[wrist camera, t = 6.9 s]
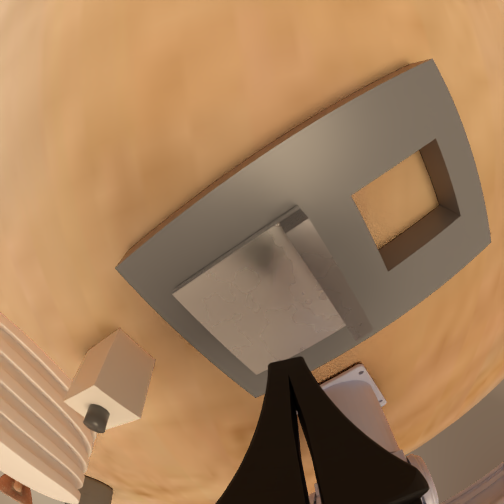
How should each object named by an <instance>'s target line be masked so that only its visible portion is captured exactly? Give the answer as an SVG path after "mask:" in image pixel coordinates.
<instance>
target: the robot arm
mask: <svg viewBox="0 0 504 504" xmlns="http://www.w3.org/2000/svg"><path fill="white" fill-rule="evenodd" d="M386 403H387V402H386V400H385V398H384V397H383V395H382V393H381V392H380V390H379V389H378V387H377V386H376V384H375V382H374V381H373V379H372V378H371V376H370V375H369V373H368V372H367V370H366V369H365V367H364V366H363V364H357V365H355V366H354V367H352V368H350V369H348V370H347V371H345V372H343V373H341V374H339V375H338V376H336V377H334V378H332V379H330V380H328V381H326V382H324V383H323V384H321V385H319V384H318V382H317V381H316V379H315V378H314V376H313V375H312V373H311V371H310V370H309V368H308V366H307V364H306V362H305V360H304V358H303V357H301V356H298V357H294V358H290V359H286V360H281V361H277V362H272V363H270V364H269V365H268V377H267V385H266V392H265V397H264V401H263V406H262V410H261V414H260V417H259V420H258V424H257V427H256V430H255V433H254V435H253V438H252V441H251V443H250V446H249V448H248V450H247V452H246V454H245V457H244V459H243V461H242V463H241V465H240V467H239V469H238V470H237V472H236V474H235V476H234V477H233V479H232V480H231V482H230V484H229V485H228V487H227V489H226V490H225V492H224V493H223V494H222V496H221V497H220V498H219V500H218V501H217V502H216V504H438V496H437V492H436V488H435V485H434V482H433V480H432V477H431V475H430V473H429V470H428V468H427V466H426V464H425V462H424V461H423V459H422V458H421V457H420V456H417V455H414V454H410V455H408V456H406V458H405V455H404V453H403V451H402V450H399V447H398V445H397V443H396V440H395V438H394V436H393V433H392V431H391V429H390V426H389V424H388V422H387V419H386V417H385V415H384V413H383V410H382V408H381V407H382V406H384V405H385V404H386ZM297 415H298V417H299V420H300V423H301V426H302V429H303V432H304V435H305V438H306V441H307V444H308V447H309V451H310V454H311V457H312V461H313V466H314V470H315V475H316V480H317V483H315V484H314V486H315V491H316V492H314V493H311V494H310V495H309V496H308V491H307V486H306V481H305V476H304V471H303V466H302V460H301V452H300V441H299V431H298V421H297ZM406 459H407V460H406ZM440 504H504V462H502V463H501V464H500V465H498V466H497V467H496V468H494V469H493V470H492V471H491V472H489V473H488V474H487V475H485V476H484V477H482V478H481V479H479V480H478V481H476V482H475V483H473V484H472V485H470V486H469V487H467V488H466V489H464V490H462V491H461V492H459V493H457V494H456V495H454V496H452V497H451V498H449V499H447V500H445V501H444V502H442V503H440Z"/></svg>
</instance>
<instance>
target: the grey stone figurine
mask: <svg viewBox="0 0 504 504" xmlns="http://www.w3.org/2000/svg"><path fill="white" fill-rule="evenodd" d="M78 490H79V492H80V494H81V496H80V501H79V503H78V504H111V500H112V494H113V491H112V489H111V488H110V487H109V486H107V485H106V484H104V483H102V482H100V481H98V480H95V479H93V478H90V477H87V476H85V479H84V483H83V487H82V488H80V489H78ZM65 504H70V503H65Z"/></svg>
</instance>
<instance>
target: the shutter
mask: <svg viewBox="0 0 504 504" xmlns="http://www.w3.org/2000/svg"><path fill="white" fill-rule="evenodd" d="M172 295H173V296H174V297H175V298H176V299H177V300H178V301H179V302H180V303H181V304H182V305H183V306H184V307H185V308H186V309H187V310H188V311H189V312H190V313H191V314H192V315H193V316H194V317H195V318H196V319H197V320H198V321H199V322H200V323H201V324H202V325H203V326H204V327H205V328H206V329H207V330H208V331H209V332H210V333H211V334H212V335H213V336H214V337H215V338H216V339H217V340H219V341H220V342H221V343H222V344H223V345H224V346H225V347H226V348H227V349H228V350H229V351H230V352H231V353H232V354H234V355H235V356H236V357H237V358H238V359H239V360H240V361H241V362H242V363H244V364H245V365H246V366H247V367H248V368H249V369H250V370H251V371H253V372H254V373H255V374H256V375H257V374H259V373H261V372H263V371H265V370H267V369H268V365H269V364H270V363H272V362H277V361H281V360H286V359H289V358H291V357H292V356H294V355H296V354H298V353H300V352H302V351H303V350H305V349H307V348H309V347H311V346H312V345H314V344H316V343H318V342H319V341H321V340H323V339H325V338H326V337H328V336H330V335H331V334H333V333H335V332H336V331H338V330H340V329H341V328H343V327H345V326H347V328H348V329H349V331H350V332H351V334H352V336H353V337H354V339H355V340H356V341H357V340H359V339H361V338H362V337H364V336H365V335H367V334H369V333H370V332H372V331H373V328H372V326H371V324H370V322H369V320H368V318H367V317H366V315H365V313H364V311H363V309H362V307H361V306H360V304H359V302H358V300H357V298H356V297H355V295H354V293H353V291H352V290H351V288H350V286H349V284H348V283H347V281H346V279H345V277H344V276H343V274H342V272H341V270H340V269H339V267H338V265H337V264H336V262H335V260H334V259H333V257H332V255H331V254H330V252H329V250H328V249H327V247H326V245H325V244H324V242H323V240H322V239H321V237H320V236H319V234H318V232H317V231H316V229H315V228H314V226H313V224H312V223H311V221H310V220H309V218H308V217H307V216H306V214H305V213H304V212H303V211H302V210H301V208H300V207H299V206H298V205H297V206H295V207H294V208H292V209H291V210H289V211H288V212H286V213H285V214H283V215H282V216H280V217H279V218H277V219H276V220H274V221H273V222H272V223H270V224H269V225H267V226H266V227H264V228H263V229H261V230H260V231H258V232H257V233H255V234H254V235H252V236H251V237H249V238H248V239H246V240H245V241H243V242H242V243H240V244H239V245H237V246H236V247H234V248H233V249H231V250H230V251H229V252H227V253H226V254H224V255H223V256H221V257H220V258H218V259H217V260H215V261H214V262H212V263H211V264H209V265H208V266H207V267H205V268H204V269H202V270H201V271H199V272H198V273H196V274H195V275H193V276H192V277H191V278H189V279H188V280H186V281H185V282H183V283H182V284H180V285H179V286H177V287H176V288H175V289H174V291H173V294H172Z"/></svg>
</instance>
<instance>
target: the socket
mask: <svg viewBox="0 0 504 504" xmlns="http://www.w3.org/2000/svg"><path fill="white" fill-rule="evenodd" d="M418 150H420V153H421V155H422V158H423V160H424V163H425V165H426V168H427V170H428V173H429V176H430V178H431V181H432V184H433V187H434V190H435V193H436V196H437V199H438V202H439V206H438V207H436V208H435V209H434V210H433V211H431V212H430V213H429V214H427V215H426V216H425V217H423V218H422V219H421V220H419V221H418V222H417V223H415V224H414V225H413V226H411V227H410V228H409V229H407V230H406V231H405V232H403V233H402V234H400V235H399V236H398V237H396V238H395V239H393V240H392V241H391V242H389V243H388V244H386V245H385V246H384V247H382V248H381V249H379V250H378V249H377V246H376V244H375V242H374V240H373V238H372V236H371V234H370V232H369V230H368V228H367V226H366V224H365V222H364V220H363V218H362V216H361V214H360V212H359V210H358V208H357V206H356V204H355V202H354V201H353V199H352V197H351V195H352V194H354V193H355V192H357V191H358V190H360V189H361V188H363V187H364V186H366V185H367V184H369V183H370V182H372V181H373V180H375V179H376V178H378V177H379V176H381V175H382V174H384V173H385V172H387V171H388V170H390V169H391V168H393V167H394V166H396V165H397V164H399V163H400V162H402V161H403V160H405V159H406V158H408V157H409V156H411V155H412V154H413V153H415V152H416V151H418ZM297 205H298V206H299V207H300V208H301V210H302V211H303V212H304V213H305V214H306V216H307V217H308V218H309V220H310V221H311V223H312V224H313V226H314V228H315V229H316V231H317V232H318V234H319V236H320V237H321V239H322V240H323V242H324V244H325V245H326V247H327V249H328V250H329V252H330V254H331V255H332V257H333V259H334V260H335V262H336V264H337V265H338V267H339V269H340V270H341V272H342V274H343V276H344V277H345V279H346V281H347V283H348V284H349V286H350V288H351V290H352V291H353V293H354V295H355V297H356V298H357V300H358V302H359V304H360V306H361V307H362V309H363V311H364V313H365V315H366V317H367V318H368V320H369V322H370V324H371V326H372V328H373V331H372V332H370V333H369V334H367V335H365V336H364V337H362V338H361V339H359V340H357V341H356V340H355V339H354V337H353V336H352V334H351V332H350V331H349V329H348V328H347V326H345V327H343V328H341V329H340V330H338V331H336V332H335V333H333V334H331V335H330V336H328V337H326V338H325V339H323V340H321V341H319V342H318V343H316V344H314V345H312V346H311V347H309V348H307V349H305V350H303V351H302V352H300V353H298V354H296V355H294V356H292V357H291V358H294V357H298V356H301V357H303V358H304V360H305V362H306V364H307V366H308V368H309V370H310V371H312V370H314V369H316V368H318V367H320V366H322V365H323V364H325V363H327V362H329V361H331V360H332V359H334V358H336V357H338V356H339V355H341V354H343V353H345V352H346V351H348V350H350V349H351V348H353V347H355V346H356V345H358V344H360V343H361V342H363V341H364V340H366V339H368V338H369V337H371V336H372V335H374V334H375V333H377V332H378V331H380V330H382V329H383V328H385V327H386V326H388V325H389V324H391V323H392V322H393V321H395V320H396V319H398V318H399V317H401V316H402V315H404V314H405V313H406V312H408V311H409V310H411V309H412V308H413V307H415V306H416V305H417V304H419V303H420V302H421V301H423V300H424V299H425V298H427V297H428V296H429V295H431V294H432V293H433V292H434V291H436V290H437V289H438V288H440V287H441V286H442V285H443V284H445V283H446V282H447V281H448V280H449V279H451V278H452V277H453V276H454V275H455V274H457V273H458V272H459V271H460V270H461V269H462V268H464V267H465V266H466V265H467V264H468V263H469V262H470V261H472V260H473V259H474V258H475V257H476V256H477V255H478V254H479V253H480V252H481V251H482V250H484V249H485V248H486V247H487V246H488V245H489V244H490V243H491V237H490V230H489V223H488V217H487V212H486V206H485V201H484V197H483V192H482V188H481V183H480V179H479V175H478V172H477V168H476V164H475V161H474V157H473V154H472V151H471V148H470V144H469V141H468V138H467V136H466V133H465V130H464V127H463V124H462V122H461V119H460V117H459V114H458V112H457V109H456V107H455V104H454V102H453V100H452V97H451V95H450V93H449V91H448V88H447V86H446V84H445V82H444V80H443V78H442V76H441V74H440V72H439V70H438V68H437V66H436V64H435V62H434V60H433V59H429V60H425V61H420V62H416V63H412V64H409V65H407V66H405V67H403V68H401V69H399V70H397V71H395V72H393V73H391V74H389V75H387V76H385V77H383V78H381V79H379V80H377V81H375V82H373V83H371V84H370V85H368V86H366V87H364V88H362V89H360V90H358V91H357V92H355V93H353V94H351V95H349V96H348V97H346V98H344V99H342V100H340V101H339V102H337V103H335V104H333V105H332V106H330V107H328V108H327V109H325V110H323V111H322V112H320V113H318V114H316V115H315V116H313V117H311V118H310V119H308V120H307V121H305V122H303V123H302V124H300V125H298V126H297V127H295V128H294V129H292V130H290V131H289V132H287V133H286V134H284V135H283V136H281V137H280V138H278V139H276V140H275V141H273V142H272V143H270V144H269V145H267V146H266V147H264V148H263V149H261V150H260V151H258V152H257V153H255V154H254V155H252V156H251V157H249V158H248V159H247V160H245V161H244V162H242V163H241V164H239V165H238V166H236V167H235V168H234V169H232V170H231V171H229V172H228V173H227V174H225V175H224V176H222V177H221V178H220V179H218V180H217V181H215V182H214V183H213V184H211V185H210V186H209V187H207V188H206V189H205V190H203V191H202V192H201V193H199V194H198V195H197V196H195V197H194V198H193V199H191V200H190V201H189V202H187V203H186V204H185V205H184V206H182V207H181V208H180V209H178V210H177V211H176V212H175V213H173V214H172V215H171V216H169V217H168V218H167V219H166V220H164V221H163V222H162V223H161V224H159V225H158V226H157V227H156V228H155V229H153V230H152V231H151V232H150V233H148V234H147V235H146V236H145V237H144V238H142V239H141V240H140V241H139V242H138V243H136V244H135V245H134V246H133V247H132V248H131V249H129V250H128V252H127V253H126V254H125V255H124V257H123V258H122V259H121V261H120V262H119V263H118V265H117V266H116V267H115V269H116V270H117V271H118V272H119V273H120V274H121V275H122V276H123V278H124V279H125V280H126V281H127V282H128V283H129V284H130V285H131V286H132V287H133V288H134V289H135V290H136V291H137V292H138V293H139V295H140V296H141V297H142V298H143V299H144V300H145V301H146V302H147V303H148V304H149V305H150V306H151V307H152V308H153V309H154V310H155V311H156V312H157V313H158V314H159V315H160V316H161V317H162V318H163V319H164V320H165V321H167V322H168V323H169V324H170V325H171V326H172V327H173V328H174V329H175V330H176V331H177V332H178V333H179V334H180V335H181V336H182V337H184V338H185V339H186V340H187V341H188V342H189V343H190V344H191V345H192V346H193V347H195V348H196V349H197V350H198V351H199V352H200V353H201V354H202V355H204V356H205V357H206V358H207V359H208V360H209V361H211V362H212V363H213V364H214V365H215V366H216V367H218V368H219V369H220V370H221V371H222V372H224V373H225V374H226V375H227V376H228V377H230V378H231V379H232V380H233V381H235V382H236V383H237V384H238V385H240V386H241V387H242V388H243V389H245V390H246V391H247V392H249V393H250V394H251V395H252V396H254V397H255V398H256V397H259V396H261V395H263V394H265V392H266V385H267V377H268V369H267V370H265V371H263V372H261V373H259V374H257V375H256V374H255V373H254V372H253V371H251V370H250V369H249V368H248V367H247V366H246V365H245V364H244V363H242V362H241V361H240V360H239V359H238V358H237V357H236V356H235V355H234V354H232V353H231V352H230V351H229V350H228V349H227V348H226V347H225V346H224V345H223V344H222V343H221V342H220V341H219V340H217V339H216V338H215V337H214V336H213V335H212V334H211V333H210V332H209V331H208V330H207V329H206V328H205V327H204V326H203V325H202V324H201V323H200V322H199V321H198V320H197V319H196V318H195V317H194V316H193V315H192V314H191V313H190V312H189V311H188V310H187V309H186V308H185V307H184V306H183V305H182V304H181V303H180V302H179V301H178V300H177V299H176V298H175V297H174V296H173V295H172V294H173V291H174V289H175V288H176V287H177V286H179V285H180V284H182V283H183V282H185V281H186V280H188V279H189V278H191V277H192V276H193V275H195V274H196V273H198V272H199V271H201V270H202V269H204V268H205V267H207V266H208V265H209V264H211V263H212V262H214V261H215V260H217V259H218V258H220V257H221V256H223V255H224V254H226V253H227V252H229V251H230V250H231V249H233V248H234V247H236V246H237V245H239V244H240V243H242V242H243V241H245V240H246V239H248V238H249V237H251V236H252V235H254V234H255V233H257V232H258V231H260V230H261V229H263V228H264V227H266V226H267V225H269V224H270V223H272V222H273V221H274V220H276V219H277V218H279V217H280V216H282V215H283V214H285V213H286V212H288V211H289V210H291V209H292V208H294V207H295V206H297ZM289 359H290V358H289Z"/></svg>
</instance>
